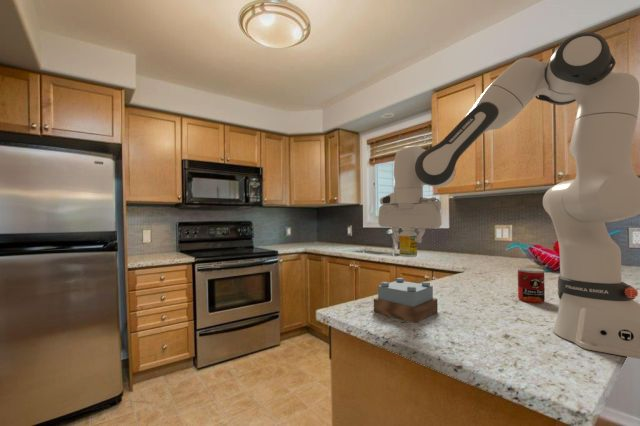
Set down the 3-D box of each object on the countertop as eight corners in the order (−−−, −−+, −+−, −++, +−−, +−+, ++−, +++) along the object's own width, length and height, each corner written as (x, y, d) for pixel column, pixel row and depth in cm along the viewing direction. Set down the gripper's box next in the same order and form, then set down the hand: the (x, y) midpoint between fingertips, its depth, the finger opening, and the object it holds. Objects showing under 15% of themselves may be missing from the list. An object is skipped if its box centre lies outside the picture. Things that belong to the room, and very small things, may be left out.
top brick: (432, 298, 93) (432, 282, 93) (413, 306, 85) (413, 289, 85) (398, 292, 102) (398, 277, 102) (378, 298, 93) (378, 282, 93)
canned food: (522, 302, 102) (522, 270, 102) (514, 296, 110) (514, 266, 110) (549, 304, 100) (548, 271, 100) (539, 298, 108) (538, 267, 108)
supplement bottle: (405, 254, 98) (405, 225, 98) (420, 256, 94) (420, 225, 94) (395, 255, 94) (396, 225, 94) (411, 257, 90) (411, 225, 91)
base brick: (437, 311, 93) (437, 298, 93) (415, 322, 83) (415, 308, 83) (397, 302, 103) (397, 291, 103) (373, 311, 93) (373, 298, 93)
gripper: (445, 197, 89) (445, 243, 89) (386, 200, 104) (386, 239, 104) (435, 196, 85) (435, 245, 85) (375, 199, 99) (375, 240, 99)
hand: (408, 242), depth 94 cm, fingers closed on supplement bottle, 5 cm apart
